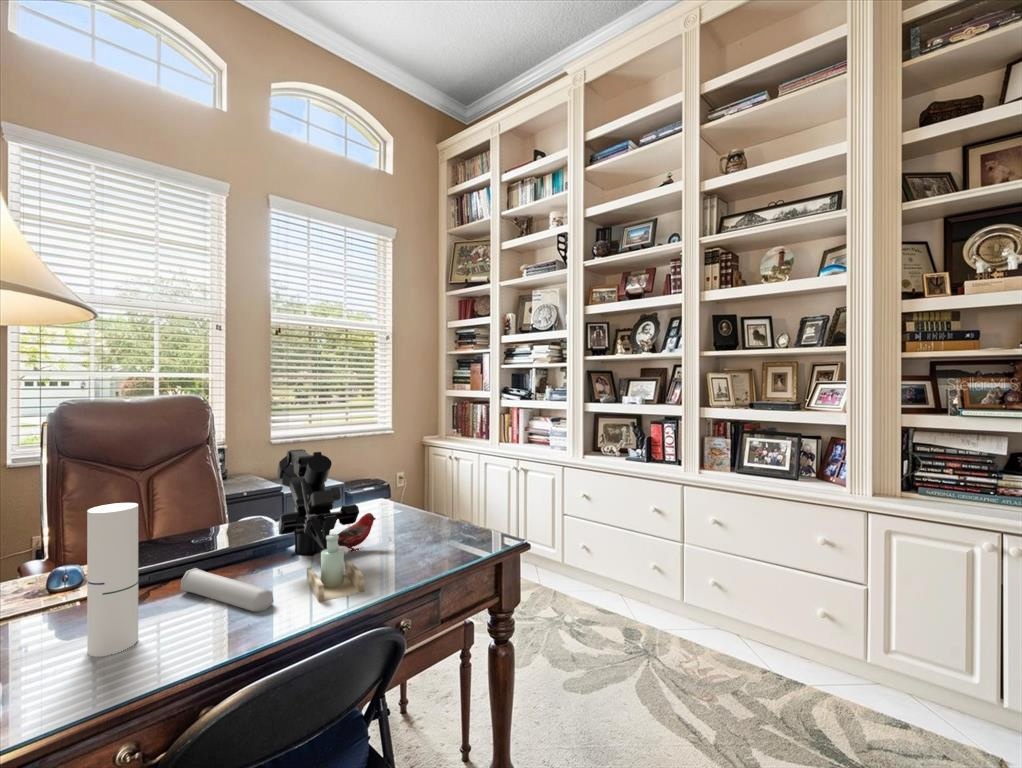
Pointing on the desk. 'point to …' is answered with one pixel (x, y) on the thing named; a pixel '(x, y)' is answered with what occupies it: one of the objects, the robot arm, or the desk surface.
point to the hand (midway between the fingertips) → (325, 548)
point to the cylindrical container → (112, 578)
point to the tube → (227, 590)
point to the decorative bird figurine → (356, 532)
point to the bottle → (332, 563)
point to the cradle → (350, 586)
